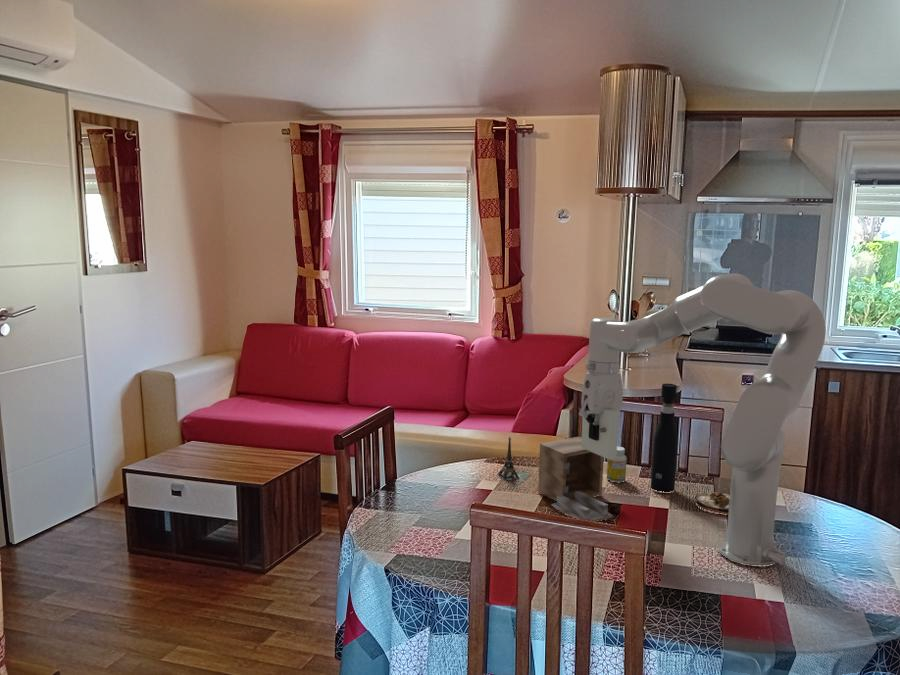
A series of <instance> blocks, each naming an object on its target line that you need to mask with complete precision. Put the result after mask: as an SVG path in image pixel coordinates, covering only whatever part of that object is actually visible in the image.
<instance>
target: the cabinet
mask: <svg viewBox="0 0 900 675" xmlns="http://www.w3.org/2000/svg"><path fill="white" fill-rule="evenodd" d="M581 440H582V436H574V437H569V438H563V439H558V440H551V441H547V442H541V443H539V463H538V465H539V466H538V488H537V489H538V492H539V493H538V492H537V493H538V494H540V493H541V494H540V495H542V494H543V495H545V496H547V497H549V498H551V499H553V500H555V501H557V502H555V501H554V503H551V506H553V507H555V508H557V509H559V510H561V511H562V512H564V513H566V514H568V515H570V516H573V517H574V518H578V519H583V520H591V521H597V520H603V519H607V518H611V517H612V518H613V514H611V513H610V512H608V511H609V507H608V506H609V504H608V503H606V502H603V501H601V500H600V499H597V498H596V497H594V496H597V495H603V480H604V479H603V478H604V459H605V457H602V456H600V455H598V454H595V453H593V452H591V451H588V450H586V449H584V448H581ZM543 495H542V496H543ZM545 496H544V497H545ZM547 497H546V498H547ZM593 497H594V498H593ZM549 498H548V499H549ZM551 499H550V500H551ZM553 500H552V501H553Z"/></svg>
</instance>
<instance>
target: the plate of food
mask: <svg viewBox="0 0 900 675" xmlns="http://www.w3.org/2000/svg"><path fill="white" fill-rule="evenodd" d="M694 499H695V500H696V502H695V503H697V504H698V506H699V507H701V508H703V509H706V510H710V511H714V512H719V513H724V514H728V513H729V501H730V494H729V493H725V492H721V491H716V490H715V491H714V492H700V493H697V495H695V497H694Z"/></svg>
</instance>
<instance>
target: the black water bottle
mask: <svg viewBox="0 0 900 675" xmlns="http://www.w3.org/2000/svg"><path fill="white" fill-rule="evenodd" d="M677 387H678V386H677V384H675V383H674V384H673V383H662V385H661V394H660V396H661V397H662V398H663V400H662V401H663V402H662V405H661V409H660V410H661V411H660V412H659V413H660V414H659V422H658V425H657V427H656V429H655V433H654V436H653V445H652V459H651V460H652V461H651V462H652V463H651V474H650V475H651V476H650V489H651V488H652V489H654V490H657V491H662V492H663V491H664V492H670V491H673V490H674V491H675V488H676V486H675V485H676V471H677V458H678V456H677V455H678V444H679V441H678V434H677V428H676V425H675V412H674V409H675V407H674V406H675V405H674V399H675V398H677Z"/></svg>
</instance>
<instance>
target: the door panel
mask: <svg viewBox="0 0 900 675" xmlns="http://www.w3.org/2000/svg"><path fill="white" fill-rule="evenodd" d="M587 413H588V411H587ZM619 415H620V412H619V410H617V409H614V408H612V409H605V410H604V413H603V414H599V418H598V424H597V425H599V440H598V441H595V440H593V439H590V438H589V423H588V422H587V420H586V419H585V418H584V417H582V419H581V420H582V421H581V422H582V423H581V424H582V425H581V426H582V427H581V437H582V440H581V448H584V449H586V450H588V451H591V452H593V453H595V454H598V455H600V456H602V457H604V459H607V460H608V458H613V457H616V455H617V446H618V439H619V438H618V436H619V419H620V416H619ZM593 417H594V415H593Z"/></svg>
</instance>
